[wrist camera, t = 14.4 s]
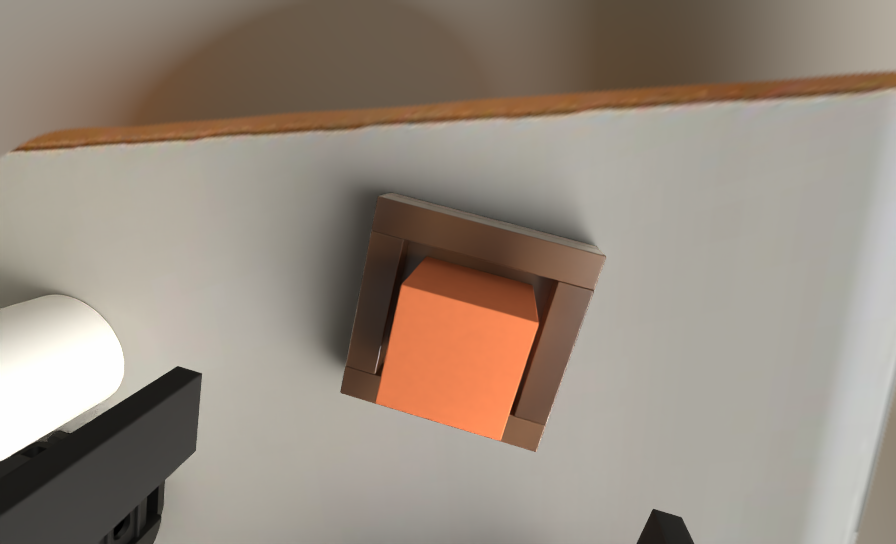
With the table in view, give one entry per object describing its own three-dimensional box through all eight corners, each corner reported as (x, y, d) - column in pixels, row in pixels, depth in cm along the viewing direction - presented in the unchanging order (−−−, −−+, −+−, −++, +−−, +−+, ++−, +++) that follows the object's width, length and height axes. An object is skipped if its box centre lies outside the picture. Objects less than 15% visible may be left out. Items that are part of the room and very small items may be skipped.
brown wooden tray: (355, 372, 27) (339, 393, 25) (390, 191, 24) (377, 195, 21) (534, 425, 26) (536, 452, 24) (597, 246, 23) (606, 256, 21)
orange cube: (403, 352, 25) (374, 403, 20) (426, 255, 23) (401, 284, 18) (503, 381, 25) (500, 441, 19) (533, 285, 23) (539, 322, 18)
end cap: (53, 500, 34) (-55, 581, 28) (50, 426, 32) (-67, 494, 26) (168, 539, 33) (85, 631, 27) (172, 466, 31) (84, 546, 25)
